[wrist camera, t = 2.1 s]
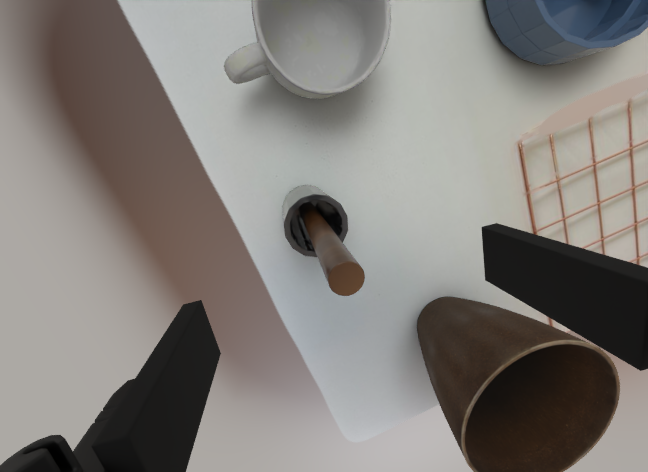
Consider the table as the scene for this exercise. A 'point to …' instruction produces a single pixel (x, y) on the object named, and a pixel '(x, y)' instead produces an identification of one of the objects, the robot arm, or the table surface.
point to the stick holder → (325, 207)
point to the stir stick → (332, 253)
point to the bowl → (565, 26)
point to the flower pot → (515, 386)
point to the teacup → (314, 44)
